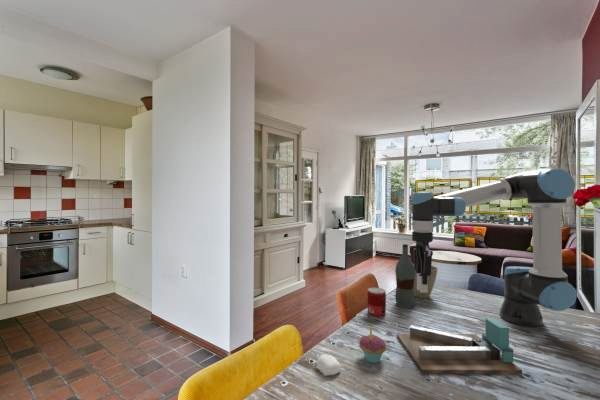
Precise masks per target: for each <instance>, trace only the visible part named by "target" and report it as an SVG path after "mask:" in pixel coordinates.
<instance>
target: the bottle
mask: <svg viewBox="0 0 600 400" xmlns="http://www.w3.org/2000/svg"><path fill="white" fill-rule="evenodd" d="M394 272H395V282H396V288H395V296H394V297H395V303H396V306H398V307H401V308H405V309H410V308H411V309H412V308H414V306H415V302H416V301H415V300H416V296H415V294H414V277H415V269H414V262H412V260H411V258H410V256H409V244H405V243H403V244H402V254H401V256H400V258H399V260H398V261H397V262H396V266H395V271H394Z"/></svg>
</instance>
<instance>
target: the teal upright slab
mask: <svg viewBox="0 0 600 400" xmlns="http://www.w3.org/2000/svg"><path fill="white" fill-rule="evenodd" d="M481 339H485V340H487V341H488V342H489V343H491V344H492V345H493V346H494V347H496V348H497V349H498V350H500V351H501V354H502V361H503V362H512V363H514V348H512V347H511V346H510V327H509V326H507V325H505V324H504V323H502V322H500V321H499V320H497V319H496V318H485V332H483V333H481Z"/></svg>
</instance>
